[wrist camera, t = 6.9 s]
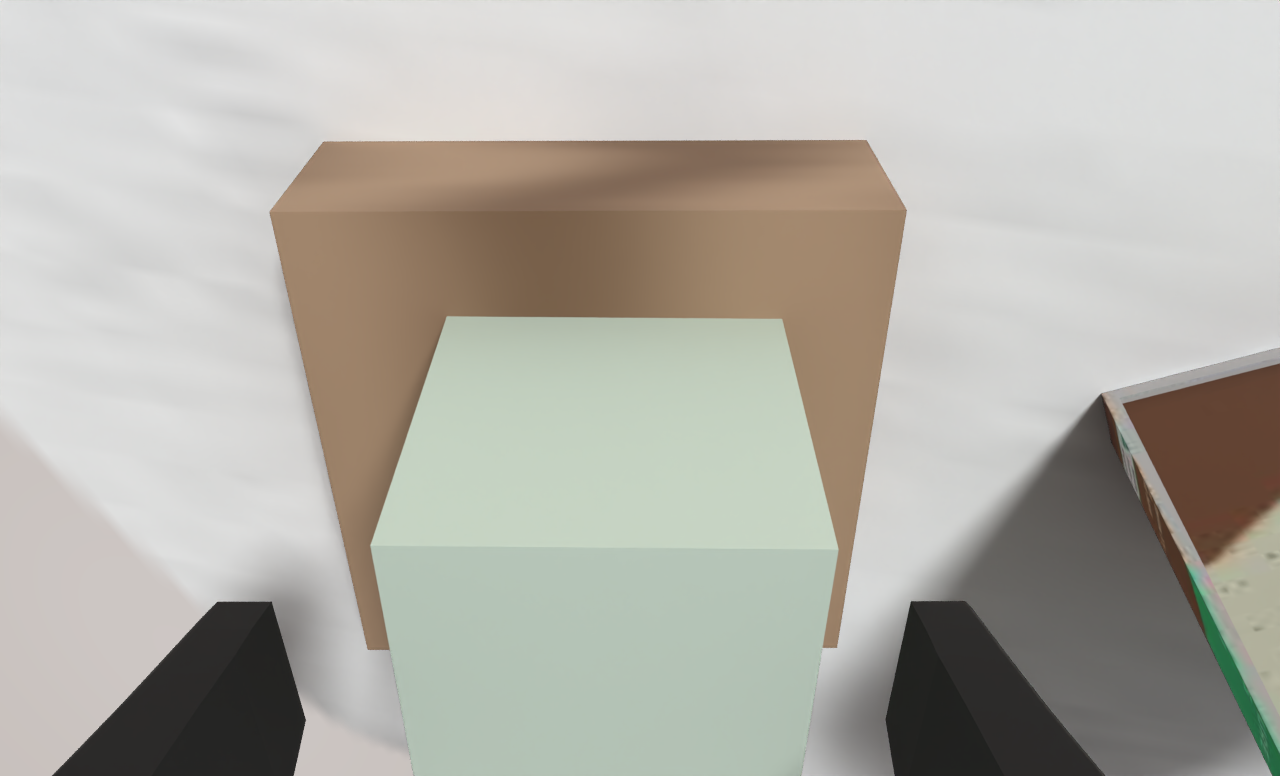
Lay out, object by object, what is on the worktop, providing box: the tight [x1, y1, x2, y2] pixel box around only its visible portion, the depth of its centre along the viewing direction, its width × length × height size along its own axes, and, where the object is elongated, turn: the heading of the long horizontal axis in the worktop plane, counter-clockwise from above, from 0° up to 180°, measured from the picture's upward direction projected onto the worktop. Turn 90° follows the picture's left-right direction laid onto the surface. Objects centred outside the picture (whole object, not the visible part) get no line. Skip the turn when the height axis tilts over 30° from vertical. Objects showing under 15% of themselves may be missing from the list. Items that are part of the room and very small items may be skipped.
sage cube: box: [370, 316, 839, 776], centre depth 13 cm, size 4×4×4 cm
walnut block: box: [270, 140, 907, 650], centre depth 16 cm, size 8×8×3 cm
